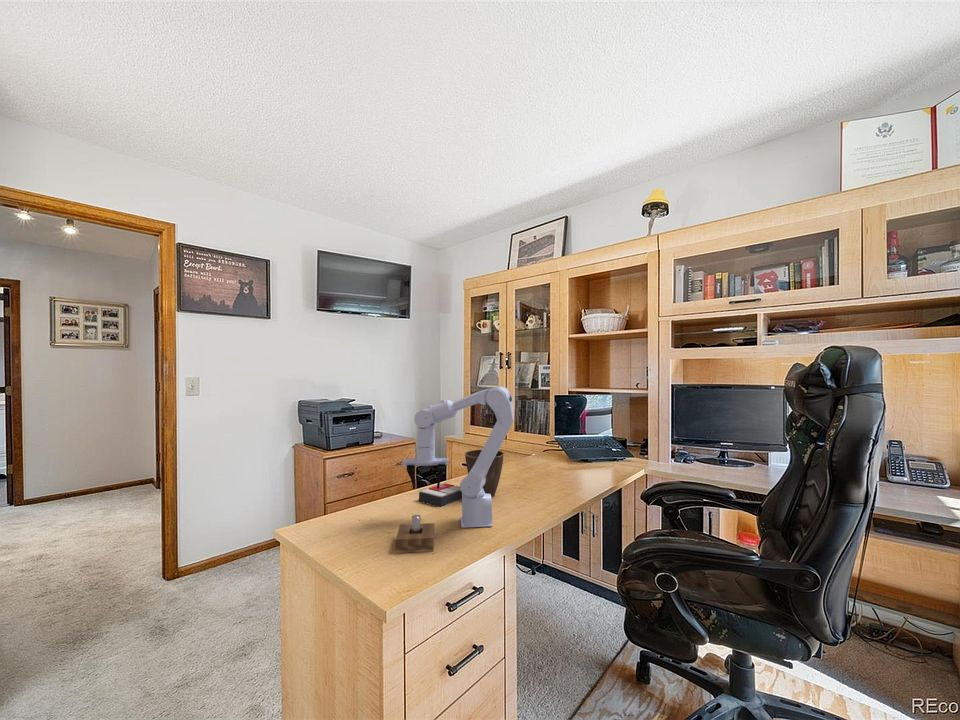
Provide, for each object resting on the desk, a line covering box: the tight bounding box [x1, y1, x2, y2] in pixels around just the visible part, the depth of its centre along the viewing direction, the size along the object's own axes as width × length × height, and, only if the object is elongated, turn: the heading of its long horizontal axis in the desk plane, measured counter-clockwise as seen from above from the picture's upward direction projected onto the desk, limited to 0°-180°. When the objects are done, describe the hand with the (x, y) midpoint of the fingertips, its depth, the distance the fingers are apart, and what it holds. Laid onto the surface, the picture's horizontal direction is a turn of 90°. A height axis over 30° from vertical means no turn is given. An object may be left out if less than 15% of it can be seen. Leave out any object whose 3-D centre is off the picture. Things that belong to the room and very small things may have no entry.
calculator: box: [418, 482, 462, 508], centre depth 147 cm, size 11×4×15 cm
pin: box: [411, 514, 421, 534], centre depth 110 cm, size 2×2×7 cm
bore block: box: [394, 522, 436, 554], centre depth 110 cm, size 10×10×4 cm
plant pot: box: [464, 449, 505, 498], centre depth 150 cm, size 15×15×16 cm
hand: (426, 487), depth 128 cm, fingers open, 7 cm apart
